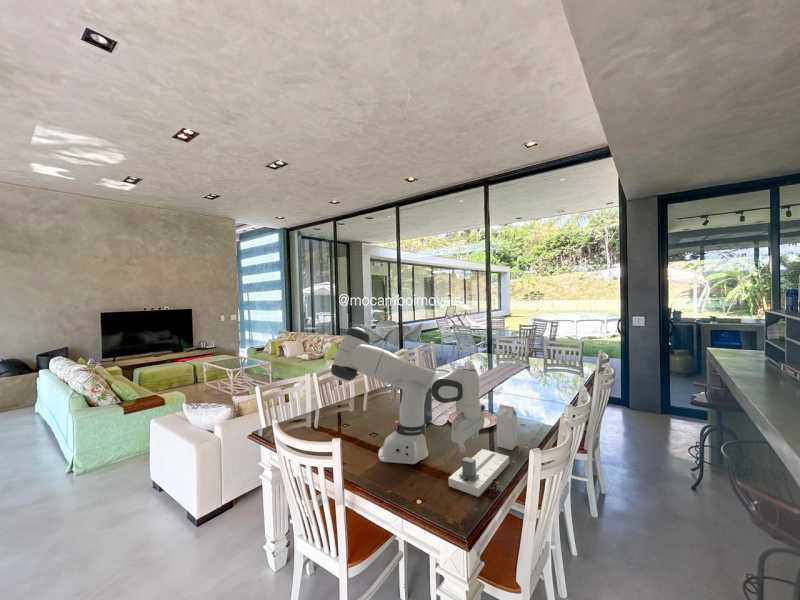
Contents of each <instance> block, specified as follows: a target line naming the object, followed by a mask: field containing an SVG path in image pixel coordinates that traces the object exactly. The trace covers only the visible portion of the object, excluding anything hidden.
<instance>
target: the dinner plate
mask: <svg viewBox="0 0 800 600" xmlns="http://www.w3.org/2000/svg"><path fill="white" fill-rule="evenodd" d="M456 416H457V415H456V410H455V411H452V412H450V413H449V414H448V415H447V420H448V422H450V423H451V424H452V423H453V421H454V420H455V417H456ZM484 416H485V417H484V426H483V428H481V429H480V430H482V429H488V428H491V427H493V426H495V425H497V415H494V414H492V413H490V412H487V411H485V410H484Z"/></svg>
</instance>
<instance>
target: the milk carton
mask: <svg viewBox="0 0 800 600" xmlns="http://www.w3.org/2000/svg"><path fill="white" fill-rule="evenodd" d="M496 417H497V423H496V446H497V447H498V448H502V449H506V450H509V451H510V450H511V451H512V450H514V448H516V447H517V446H518V415H517V411H516V410H515V407H514V406H511V405H510V406H509V405H505V404H499V405H498V410H497V413H496Z"/></svg>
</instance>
